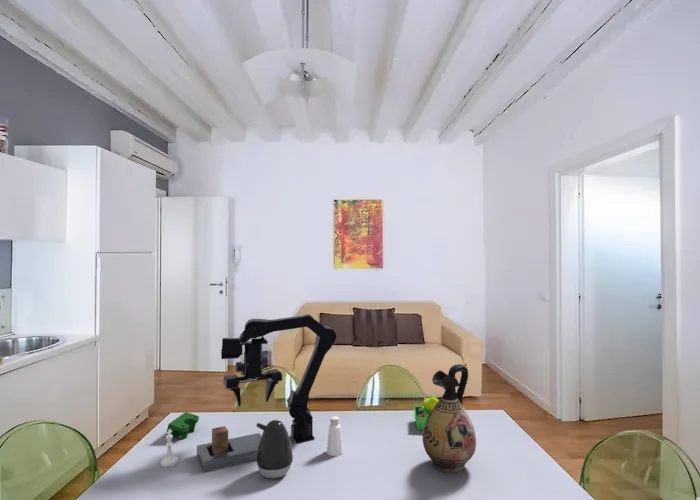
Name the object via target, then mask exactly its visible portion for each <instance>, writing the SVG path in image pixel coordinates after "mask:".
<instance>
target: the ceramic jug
mask: <svg viewBox="0 0 700 500" xmlns="http://www.w3.org/2000/svg"><path fill="white" fill-rule="evenodd" d="M468 370H469V369H468V367H466V366H465V365H464V364H460V363H459V364H454V365H451V367H450V368H449V370H448V373H445V372H444V371H442V370H440V369H439V370H438V371H436V372H435V373H434V375H433V377H432V378H431V379H432V384H433V385H434V386H438V387H441V388H443V389H444V393H443V394H442V396H441V397H440V399H438V403H437V404H436V405H435V407H434V408H433V410H432V411H431V413H430V414H429V416H428V418H427V420H426V423H425V426H424V430H422V431H423V432H422V443H423V444H422V445H423V447H424V451H425V453H426V455H428V457H429V458H430V460H431V463H432V467H433V468H434V469H435V470H439V471H441V472H442V473H448V474H454V473H460V472H461V471H463V469H464V468H465V466H466V464H467V462H469V461H470V460H471V459H472V457H473V456H474V454H475V452H476V449H477V438H476V432H475V428H474V427H475V426H474V425H473V422H472V419H471V418H470V416H469V414H468V412H467V411H466V408H465V407H464V405H463V404H464V403H463V401H464V400H463V399H464V394H465V390H466V386H467V384H468V380H469V371H468ZM458 372H459V373H460V372H461V375H460V380H459V381H458V379H457V377H456V374H457V373H458ZM456 388H457V390H456Z"/></svg>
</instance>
